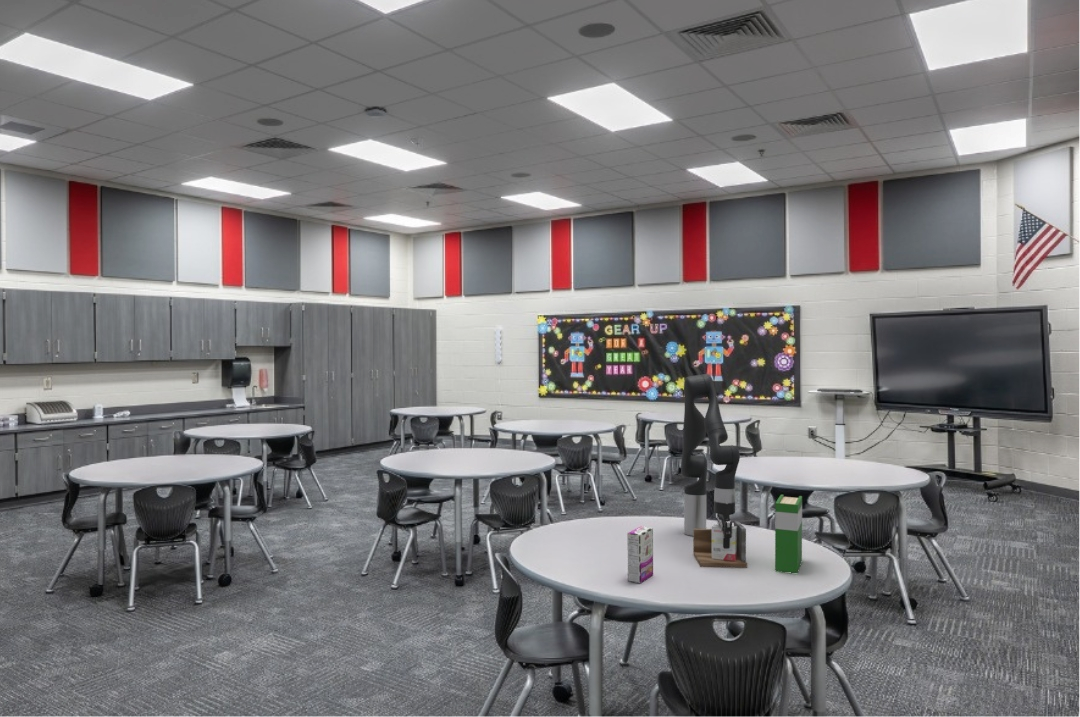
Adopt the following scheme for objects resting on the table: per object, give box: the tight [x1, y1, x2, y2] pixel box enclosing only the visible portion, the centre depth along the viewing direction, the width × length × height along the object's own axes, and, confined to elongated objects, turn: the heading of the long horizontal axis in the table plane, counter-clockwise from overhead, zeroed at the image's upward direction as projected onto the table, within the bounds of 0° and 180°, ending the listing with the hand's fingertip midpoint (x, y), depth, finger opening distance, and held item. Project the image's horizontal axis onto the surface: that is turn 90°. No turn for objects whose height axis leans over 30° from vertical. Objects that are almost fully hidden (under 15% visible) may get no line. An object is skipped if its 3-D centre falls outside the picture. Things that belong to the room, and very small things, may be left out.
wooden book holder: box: [692, 520, 748, 569], centre depth 254 cm, size 15×16×14 cm
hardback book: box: [774, 494, 803, 574], centre depth 249 cm, size 18×7×24 cm, turn 155°
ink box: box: [711, 523, 737, 561], centre depth 252 cm, size 9×5×12 cm, turn 65°
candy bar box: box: [626, 525, 654, 584], centre depth 233 cm, size 11×5×16 cm, turn 148°
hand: (724, 545), depth 252 cm, fingers closed on ink box, 6 cm apart
